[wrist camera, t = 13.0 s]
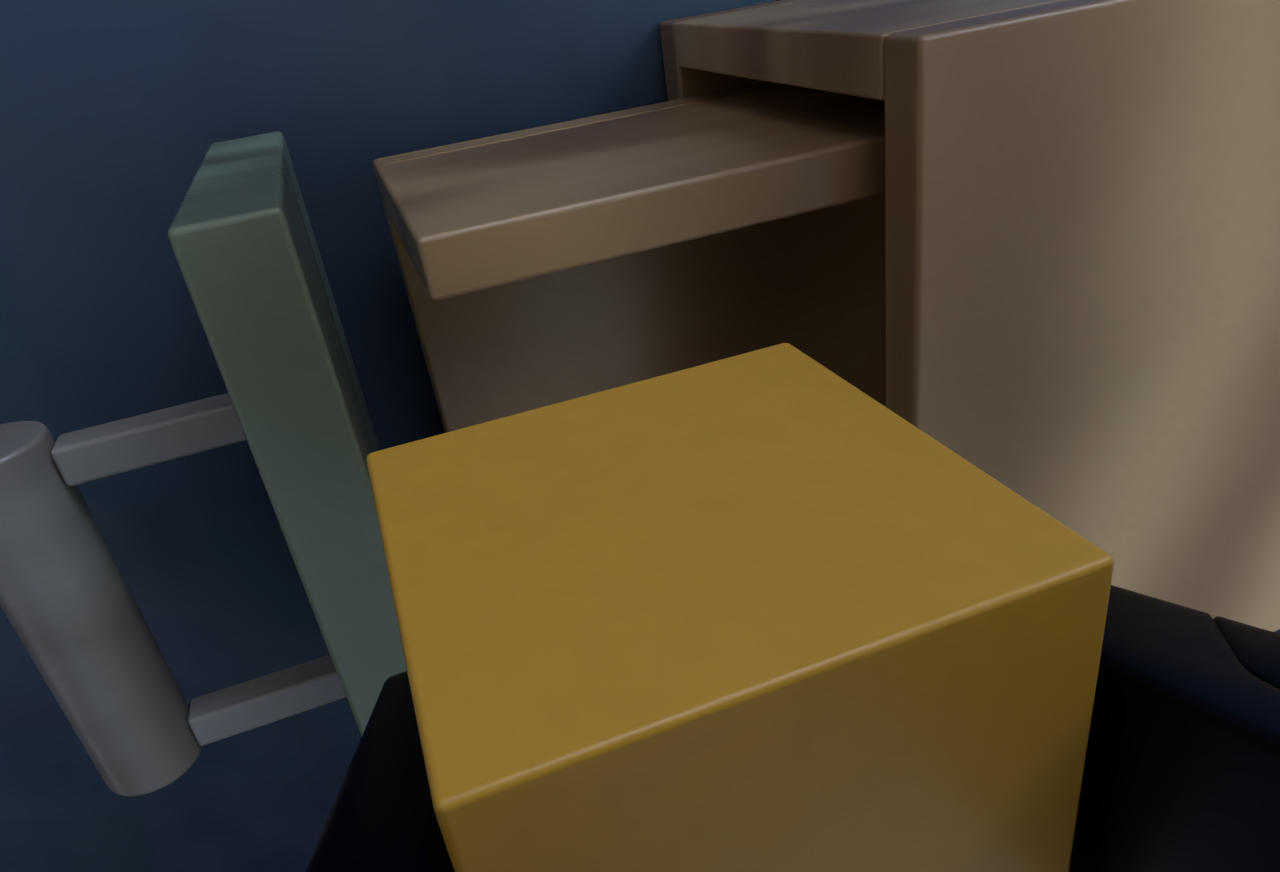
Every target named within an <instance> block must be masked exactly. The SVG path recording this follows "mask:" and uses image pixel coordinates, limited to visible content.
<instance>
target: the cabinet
mask: <svg viewBox="0 0 1280 872" xmlns="http://www.w3.org/2000/svg"><path fill="white" fill-rule="evenodd" d="M660 33H661V42H662V51H663V60H664V69H665V78H666V87H667V96H668V101H672V100H677V99H682V98H687V97H692V96H697V95H702V94H707V93H712V92H717V91H722V90H727V89H733V88H738V87H743V86H748V85H753V84H758V83H763V82H773V83H779V84H785V85H791V86H797V87H803V88H809V89H815V90H821V91H827V92H833V93H839V94H845V95H851V96H857V97H863V98H869V99H875V100H881V101H884V100H885V300H886V408H888V409H889V410H891V411H893V412H894V413H896V414H897V415H899V416H900V417H902V418H903V419H905V420H906V421H908V422H909V423H911V424H912V425H914V426H915V427H917V428H918V429H920V430H921V431H923V432H924V433H926V434H928V435H929V436H931V437H932V438H934V439H935V440H937V441H938V442H940V443H941V444H943V445H944V446H946V447H947V448H949V449H950V450H952V451H953V452H955V453H956V454H958V455H959V456H961V457H962V458H964V459H966V460H967V461H969V462H970V463H972V464H973V465H975V466H976V467H978V468H979V469H981V470H982V471H984V472H985V473H987V474H988V475H990V476H991V477H993V478H994V479H996V480H997V481H999V482H1000V483H1002V484H1004V485H1005V486H1007V487H1008V488H1010V489H1011V490H1013V491H1014V492H1016V493H1017V494H1019V495H1020V496H1022V497H1023V498H1025V499H1026V500H1028V501H1029V502H1031V503H1032V504H1034V505H1035V506H1037V507H1038V508H1040V509H1042V510H1043V511H1045V512H1046V513H1048V514H1049V515H1051V516H1052V517H1054V518H1055V519H1057V520H1058V521H1060V522H1061V523H1063V524H1064V525H1066V526H1067V527H1069V528H1070V529H1072V530H1073V531H1075V532H1076V533H1078V534H1080V535H1081V536H1083V537H1084V538H1086V539H1087V540H1089V541H1090V542H1092V543H1093V544H1095V545H1096V546H1098V547H1099V548H1101V549H1102V550H1104V551H1105V552H1107V553H1108V554H1110V555H1111V557H1112V558H1113V560H1114V569H1113V575H1112V582H1111V585H1113V586H1117V587H1120V588H1124V589H1127V590H1130V591H1134V592H1137V593H1141V594H1144V595H1148V596H1151V597H1154V598H1158V599H1161V600H1165V601H1168V602H1172V603H1175V604H1178V605H1182V606H1185V607H1189V608H1192V609H1196V610H1199V611H1202V612H1206V613H1208V614H1210V615H1211V617H1212V618H1214V617H1216V616H1220V617H1224V618H1227V619H1230V620H1234V621H1237V622H1241V623H1244V624H1247V625H1251V626H1254V627H1257V628H1261V629H1265V630H1268V631H1272V632H1274V631H1277V630H1279V629H1280V0H780V1H775V2H769V3H763V4H757V5H752V6H746V7H740V8H734V9H729V10H723V11H717V12H711V13H706V14H700V15H694V16H688V17H683V18H677V19H671V20H665V21H662V22H661V23H660Z"/></svg>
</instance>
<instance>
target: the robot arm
mask: <svg viewBox="0 0 1280 872" xmlns="http://www.w3.org/2000/svg"><path fill="white" fill-rule="evenodd" d="M306 872H455V871H454V868H453V865H452V862H451V859H450V856H449V853H448V850H447V847H446V844H445V841H444V839H443V836H442V833H441V830H440V827H439V824H438V821H437V818H436V815H435V812H434V808H433V803H432V798H431V793H430V788H429V782H428V777H427V772H426V767H425V762H424V756H423V751H422V746H421V741H420V736H419V731H418V725H417V720H416V715H415V710H414V705H413V700H412V694H411V689H410V684H409V679H408V674H407V671H404V672H401V673H398V674H395V675H392V676H390V677H388V678H387V680H386V681H385V682H384V685H383V687H382V689H381V692H380V694H379V697H378V699H377V701H376V704H375V706H374V709H373V711H372V713H371V716H370V718H369V721H368V723H367V726H366V728H365V730H364V733H363V735H362V738H361V740H360V742H359V745H358V747H357V750H356V752H355V754H354V757H353V759H352V762H351V764H350V766H349V769H348V771H347V774H346V776H345V778H344V781H343V783H342V786H341V788H340V791H339V793H338V795H337V798H336V800H335V803H334V805H333V807H332V810H331V812H330V815H329V817H328V819H327V822H326V824H325V827H324V829H323V831H322V834H321V836H320V839H319V841H318V843H317V846H316V848H315V851H314V853H313V856H312V858H311V860H310V863H309V865H308V868H307V870H306ZM1069 872H1280V634H1279V633H1275V632H1272V631H1268V630H1265V629H1261V628H1257V627H1254V626H1251V625H1247V624H1244V623H1241V622H1237V621H1234V620H1230V619H1227V618H1224V617H1220V616H1216V617H1214V618H1212V617H1211V615H1210V614H1208V613H1206V612H1202V611H1199V610H1196V609H1192V608H1189V607H1185V606H1182V605H1178V604H1175V603H1172V602H1168V601H1165V600H1161V599H1158V598H1154V597H1151V596H1148V595H1144V594H1141V593H1137V592H1134V591H1130V590H1127V589H1124V588H1120V587H1117V586H1113V585H1111V589H1110V596H1109V603H1108V609H1107V616H1106V623H1105V630H1104V636H1103V643H1102V650H1101V657H1100V663H1099V670H1098V677H1097V684H1096V691H1095V697H1094V704H1093V711H1092V718H1091V724H1090V731H1089V738H1088V745H1087V752H1086V758H1085V765H1084V772H1083V779H1082V785H1081V792H1080V799H1079V806H1078V812H1077V819H1076V826H1075V833H1074V840H1073V846H1072V853H1071V860H1070V867H1069Z"/></svg>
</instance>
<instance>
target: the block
mask: <svg viewBox="0 0 1280 872" xmlns="http://www.w3.org/2000/svg"><path fill="white" fill-rule="evenodd" d="M366 461H367V467H368V472H369V477H370V482H371V487H372V492H373V498H374V503H375V508H376V513H377V518H378V524H379V529H380V534H381V539H382V544H383V549H384V555H385V560H386V565H387V570H388V575H389V580H390V586H391V591H392V596H393V601H394V606H395V612H396V617H397V622H398V627H399V632H400V637H401V643H402V648H403V653H404V658H405V663H406V668H407V674H408V679H409V684H410V689H411V694H412V700H413V705H414V710H415V715H416V720H417V725H418V731H419V736H420V741H421V746H422V751H423V756H424V762H425V767H426V772H427V777H428V782H429V788H430V793H431V798H432V803H433V808H434V812H435V815H436V818H437V821H438V824H439V827H440V830H441V833H442V836H443V839H444V841H445V844H446V847H447V850H448V853H449V856H450V859H451V862H452V865H453V868H454V871H455V872H1069V867H1070V860H1071V853H1072V846H1073V840H1074V833H1075V826H1076V819H1077V812H1078V806H1079V799H1080V792H1081V785H1082V779H1083V772H1084V765H1085V758H1086V752H1087V745H1088V738H1089V731H1090V724H1091V718H1092V711H1093V704H1094V697H1095V691H1096V684H1097V677H1098V670H1099V663H1100V657H1101V650H1102V643H1103V636H1104V630H1105V623H1106V616H1107V609H1108V603H1109V596H1110V589H1111V582H1112V575H1113V569H1114V560H1113V558H1112V557H1111V555H1110V554H1108V553H1107V552H1105V551H1104V550H1102V549H1101V548H1099V547H1098V546H1096V545H1095V544H1093V543H1092V542H1090V541H1089V540H1087V539H1086V538H1084V537H1083V536H1081V535H1080V534H1078V533H1076V532H1075V531H1073V530H1072V529H1070V528H1069V527H1067V526H1066V525H1064V524H1063V523H1061V522H1060V521H1058V520H1057V519H1055V518H1054V517H1052V516H1051V515H1049V514H1048V513H1046V512H1045V511H1043V510H1042V509H1040V508H1038V507H1037V506H1035V505H1034V504H1032V503H1031V502H1029V501H1028V500H1026V499H1025V498H1023V497H1022V496H1020V495H1019V494H1017V493H1016V492H1014V491H1013V490H1011V489H1010V488H1008V487H1007V486H1005V485H1004V484H1002V483H1000V482H999V481H997V480H996V479H994V478H993V477H991V476H990V475H988V474H987V473H985V472H984V471H982V470H981V469H979V468H978V467H976V466H975V465H973V464H972V463H970V462H969V461H967V460H966V459H964V458H962V457H961V456H959V455H958V454H956V453H955V452H953V451H952V450H950V449H949V448H947V447H946V446H944V445H943V444H941V443H940V442H938V441H937V440H935V439H934V438H932V437H931V436H929V435H928V434H926V433H924V432H923V431H921V430H920V429H918V428H917V427H915V426H914V425H912V424H911V423H909V422H908V421H906V420H905V419H903V418H902V417H900V416H899V415H897V414H896V413H894V412H893V411H891V410H889V409H888V408H886V407H885V406H883V405H882V404H880V403H879V402H877V401H876V400H874V399H873V398H871V397H870V396H868V395H867V394H865V393H864V392H862V391H861V390H859V389H858V388H856V387H855V386H853V385H851V384H850V383H848V382H847V381H845V380H844V379H842V378H841V377H839V376H838V375H836V374H835V373H833V372H832V371H830V370H829V369H827V368H826V367H824V366H823V365H821V364H820V363H818V362H817V361H815V360H813V359H812V358H810V357H809V356H807V355H806V354H804V353H803V352H801V351H800V350H798V349H797V348H795V347H794V346H792V345H791V344H789V343H782V344H778V345H774V346H771V347H767V348H763V349H759V350H755V351H752V352H748V353H744V354H740V355H737V356H733V357H729V358H725V359H722V360H718V361H714V362H710V363H707V364H703V365H699V366H695V367H692V368H688V369H684V370H680V371H676V372H673V373H669V374H665V375H661V376H658V377H654V378H650V379H646V380H643V381H639V382H635V383H631V384H628V385H624V386H620V387H616V388H613V389H609V390H605V391H601V392H597V393H594V394H590V395H586V396H582V397H579V398H575V399H571V400H567V401H564V402H560V403H556V404H552V405H549V406H545V407H541V408H537V409H534V410H530V411H526V412H522V413H518V414H515V415H511V416H507V417H503V418H500V419H496V420H492V421H488V422H485V423H481V424H477V425H473V426H470V427H466V428H462V429H458V430H455V431H451V432H447V433H443V434H439V435H436V436H432V437H428V438H424V439H421V440H417V441H413V442H409V443H406V444H402V445H398V446H394V447H391V448H387V449H383V450H379V451H376V452H372V453H370V454H368V455H367V459H366Z"/></svg>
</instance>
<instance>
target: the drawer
mask: <svg viewBox="0 0 1280 872" xmlns="http://www.w3.org/2000/svg"><path fill="white" fill-rule="evenodd" d="M372 165H373V169H374V172H375V176H376V180H377V184H378V187H379V191H380V195H381V199H382V202H383V206H384V210H385V213H386V217H387V221H388V225H389V228H390V232H391V236H392V240H393V243H394V247H395V251H396V254H397V258H398V262H399V266H400V269H401V273H402V277H403V280H404V284H405V288H406V292H407V295H408V299H409V303H410V307H411V310H412V314H413V318H414V321H415V325H416V329H417V333H418V336H419V340H420V344H421V348H422V351H423V355H424V359H425V362H426V366H427V370H428V374H429V377H430V381H431V385H432V389H433V392H434V396H435V400H436V403H437V407H438V411H439V415H440V418H441V422H442V426H443V430H444V433H447V432H451V431H455V430H458V429H462V428H466V427H470V426H473V425H477V424H481V423H485V422H488V421H492V420H496V419H500V418H503V417H507V416H511V415H515V414H518V413H522V412H526V411H530V410H534V409H537V408H541V407H545V406H549V405H552V404H556V403H560V402H564V401H567V400H571V399H575V398H579V397H582V396H586V395H590V394H594V393H597V392H601V391H605V390H609V389H613V388H616V387H620V386H624V385H628V384H631V383H635V382H639V381H643V380H646V379H650V378H654V377H658V376H661V375H665V374H669V373H673V372H676V371H680V370H684V369H688V368H692V367H695V366H699V365H703V364H707V363H710V362H714V361H718V360H722V359H725V358H729V357H733V356H737V355H740V354H744V353H748V352H752V351H755V350H759V349H763V348H767V347H771V346H774V345H778V344H782V343H789V344H791V345H792V346H794V347H795V348H797V349H798V350H800V351H801V352H803V353H804V354H806V355H807V356H809V357H810V358H812V359H813V360H815V361H817V362H818V363H820V364H821V365H823V366H824V367H826V368H827V369H829V370H830V371H832V372H833V373H835V374H836V375H838V376H839V377H841V378H842V379H844V380H845V381H847V382H848V383H850V384H851V385H853V386H855V387H856V388H858V389H859V390H861V391H862V392H864V393H865V394H867V395H868V396H870V397H871V398H873V399H874V400H876V401H877V402H879V403H880V404H882V405H883V406H885V407H886V300H885V100H884V101H881V100H875V99H869V98H863V97H857V96H851V95H845V94H839V93H833V92H827V91H821V90H815V89H809V88H803V87H797V86H791V85H785V84H779V83H773V82H763V83H758V84H753V85H748V86H743V87H738V88H733V89H727V90H722V91H717V92H712V93H707V94H702V95H697V96H692V97H687V98H682V99H677V100H672V101H667V102H661V103H656V104H651V105H646V106H641V107H636V108H631V109H626V110H621V111H616V112H611V113H606V114H601V115H596V116H590V117H585V118H580V119H575V120H570V121H565V122H560V123H555V124H550V125H545V126H540V127H535V128H530V129H525V130H519V131H514V132H509V133H504V134H499V135H494V136H489V137H484V138H479V139H474V140H469V141H464V142H459V143H453V144H448V145H443V146H438V147H433V148H428V149H423V150H418V151H413V152H408V153H403V154H398V155H393V156H388V157H382V158H377V159H375V160H374V161H373V164H372ZM168 239H169V241H170V244H171V247H172V249H173V252H174V254H175V257H176V260H177V262H178V265H179V267H180V270H181V272H182V275H183V278H184V280H185V283H186V285H187V288H188V290H189V293H190V296H191V298H192V301H193V303H194V306H195V308H196V311H197V314H198V316H199V319H200V321H201V324H202V326H203V329H204V332H205V334H206V337H207V339H208V342H209V345H210V347H211V350H212V352H213V355H214V357H215V360H216V363H217V365H218V368H219V370H220V373H221V375H222V378H223V381H224V383H225V386H226V388H227V391H228V393H225V394H221V395H217V396H213V397H209V398H205V399H201V400H197V401H193V402H189V403H185V404H181V405H177V406H173V407H169V408H165V409H161V410H157V411H153V412H149V413H145V414H141V415H137V416H133V417H129V418H125V419H121V420H117V421H113V422H109V423H105V424H101V425H97V426H93V427H89V428H85V429H81V430H77V431H73V432H69V433H65V434H61V435H60V436H58V438H57V440H56V442H55V440H54V438H53V436H52V434H51V432H50V430H49V428H48V427H47V426H45V425H44V424H43V423H41V422H38V421H17V422H10V423H4V424H0V607H1V608H2V610H3V612H4V614H5V615H6V617H7V619H8V620H9V622H10V624H11V625H12V627H13V629H14V630H15V632H16V634H17V635H18V637H19V639H20V640H21V642H22V644H23V645H24V647H25V649H26V650H27V652H28V654H29V655H30V657H31V659H32V661H33V662H34V664H35V666H36V667H37V669H38V671H39V672H40V674H41V676H42V677H43V679H44V681H45V682H46V684H47V686H48V687H49V689H50V691H51V692H52V694H53V696H54V697H55V699H56V701H57V702H58V704H59V706H60V708H61V709H62V711H63V713H64V714H65V716H66V718H67V719H68V721H69V723H70V724H71V726H72V728H73V729H74V731H75V733H76V734H77V736H78V738H79V739H80V741H81V743H82V744H83V746H84V748H85V750H86V751H87V753H88V755H89V756H90V758H91V760H92V761H93V763H94V765H95V766H96V768H97V770H98V771H99V773H100V775H101V776H102V778H103V780H104V781H105V783H106V785H107V786H108V788H109V789H110V790H111V791H112V792H114V793H116V794H118V795H121V796H127V797H134V796H141V795H146V794H149V793H152V792H155V791H157V790H159V789H162V788H164V787H165V786H167V785H169V784H171V783H172V782H174V781H175V780H177V779H178V778H179V777H181V776H182V775H183V774H184V773H185V772H187V771H188V770H189V768H190V767H191V766H192V765H193V764H194V763H195V761H196V760H197V758H198V757H199V755H200V753H201V750H202V746H204V745H207V744H210V743H213V742H216V741H219V740H222V739H225V738H228V737H231V736H234V735H237V734H240V733H243V732H246V731H249V730H252V729H255V728H258V727H261V726H264V725H267V724H270V723H273V722H276V721H279V720H281V719H284V718H287V717H290V716H293V715H296V714H299V713H302V712H305V711H308V710H311V709H314V708H317V707H320V706H323V705H326V704H329V703H332V702H335V701H338V700H341V699H344V698H347V700H348V703H349V705H350V708H351V710H352V713H353V715H354V718H355V721H356V723H357V726H358V728H359V731H360V733H361V736H362V735H363V733H364V730H365V728H366V726H367V723H368V721H369V718H370V716H371V713H372V711H373V709H374V706H375V704H376V701H377V699H378V697H379V694H380V692H381V689H382V687H383V685H384V682H385V681H386V680H387V678H388V677H390V676H392V675H395V674H398V673H401V672H404V671H407V668H406V663H405V658H404V653H403V648H402V643H401V637H400V632H399V627H398V622H397V617H396V612H395V606H394V601H393V596H392V591H391V586H390V580H389V575H388V570H387V565H386V560H385V555H384V549H383V544H382V539H381V534H380V529H379V524H378V518H377V513H376V508H375V503H374V498H373V492H372V487H371V482H370V477H369V472H368V467H367V461H366V459H367V455H368V454H370V453H372V452H376V451H379V450H381V449H380V446H379V442H378V439H377V436H376V433H375V429H374V426H373V423H372V420H371V416H370V413H369V410H368V407H367V404H366V400H365V397H364V394H363V391H362V387H361V384H360V381H359V378H358V374H357V371H356V368H355V365H354V362H353V358H352V355H351V352H350V349H349V345H348V342H347V339H346V336H345V332H344V329H343V326H342V323H341V319H340V316H339V313H338V310H337V307H336V303H335V300H334V297H333V294H332V290H331V287H330V284H329V281H328V277H327V274H326V271H325V268H324V265H323V261H322V258H321V255H320V252H319V248H318V245H317V242H316V239H315V235H314V232H313V229H312V226H311V223H310V219H309V216H308V213H307V210H306V206H305V203H304V200H303V197H302V193H301V190H300V187H299V184H298V181H297V177H296V174H295V171H294V168H293V164H292V161H291V158H290V155H289V151H288V148H287V145H286V142H285V139H284V135H283V134H282V133H281V132H278V131H276V132H271V133H266V134H260V135H255V136H249V137H244V138H239V139H233V140H228V141H222V142H217V143H213V144H211V145H210V147H209V149H208V151H207V153H206V155H205V157H204V159H203V161H202V163H201V165H200V167H199V169H198V171H197V173H196V175H195V177H194V179H193V181H192V183H191V185H190V187H189V189H188V191H187V193H186V195H185V197H184V199H183V201H182V203H181V205H180V207H179V209H178V211H177V213H176V215H175V217H174V219H173V221H172V223H171V225H170V228H169V230H168ZM246 440H247V442H248V445H249V448H250V450H251V453H252V455H253V458H254V460H255V463H256V466H257V468H258V471H259V473H260V476H261V478H262V481H263V484H264V486H265V489H266V491H267V494H268V496H269V499H270V502H271V504H272V507H273V509H274V512H275V515H276V517H277V520H278V522H279V525H280V527H281V530H282V533H283V535H284V538H285V540H286V543H287V545H288V548H289V551H290V553H291V556H292V558H293V561H294V563H295V566H296V569H297V571H298V574H299V576H300V579H301V581H302V584H303V587H304V589H305V592H306V594H307V597H308V600H309V602H310V605H311V607H312V610H313V612H314V615H315V618H316V620H317V623H318V625H319V628H320V630H321V633H322V636H323V638H324V641H325V643H326V646H327V648H328V651H329V655H326V656H323V657H320V658H317V659H314V660H311V661H308V662H305V663H301V664H298V665H295V666H292V667H289V668H286V669H283V670H280V671H277V672H274V673H271V674H267V675H264V676H261V677H258V678H255V679H252V680H249V681H246V682H243V683H240V684H237V685H233V686H230V687H227V688H224V689H221V690H218V691H215V692H212V693H209V694H206V695H203V696H199V697H196V698H194V699H192V700H191V701H190V708H189V706H188V704H187V702H186V700H185V698H184V696H183V694H182V692H181V690H180V688H179V686H178V684H177V682H176V680H175V678H174V676H173V674H172V672H171V670H170V668H169V666H168V664H167V663H166V661H165V659H164V657H163V655H162V653H161V651H160V649H159V647H158V645H157V643H156V641H155V639H154V637H153V635H152V633H151V631H150V629H149V627H148V625H147V623H146V621H145V619H144V617H143V615H142V613H141V611H140V609H139V607H138V605H137V603H136V601H135V599H134V597H133V595H132V593H131V591H130V589H129V587H128V585H127V583H126V581H125V579H124V577H123V575H122V573H121V571H120V569H119V567H118V565H117V563H116V561H115V559H114V557H113V555H112V553H111V551H110V549H109V547H108V545H107V543H106V541H105V539H104V537H103V535H102V533H101V531H100V529H99V527H98V525H97V523H96V522H95V520H94V518H93V516H92V514H91V512H90V510H89V508H88V506H87V504H86V502H85V500H84V498H83V496H82V494H81V492H80V490H79V488H78V486H77V485H79V484H82V483H86V482H90V481H94V480H98V479H101V478H105V477H109V476H113V475H117V474H121V473H124V472H128V471H132V470H136V469H140V468H143V467H147V466H151V465H155V464H159V463H162V462H166V461H170V460H174V459H178V458H182V457H185V456H189V455H193V454H197V453H201V452H204V451H208V450H212V449H216V448H220V447H223V446H227V445H231V444H235V443H239V442H243V441H246Z"/></svg>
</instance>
